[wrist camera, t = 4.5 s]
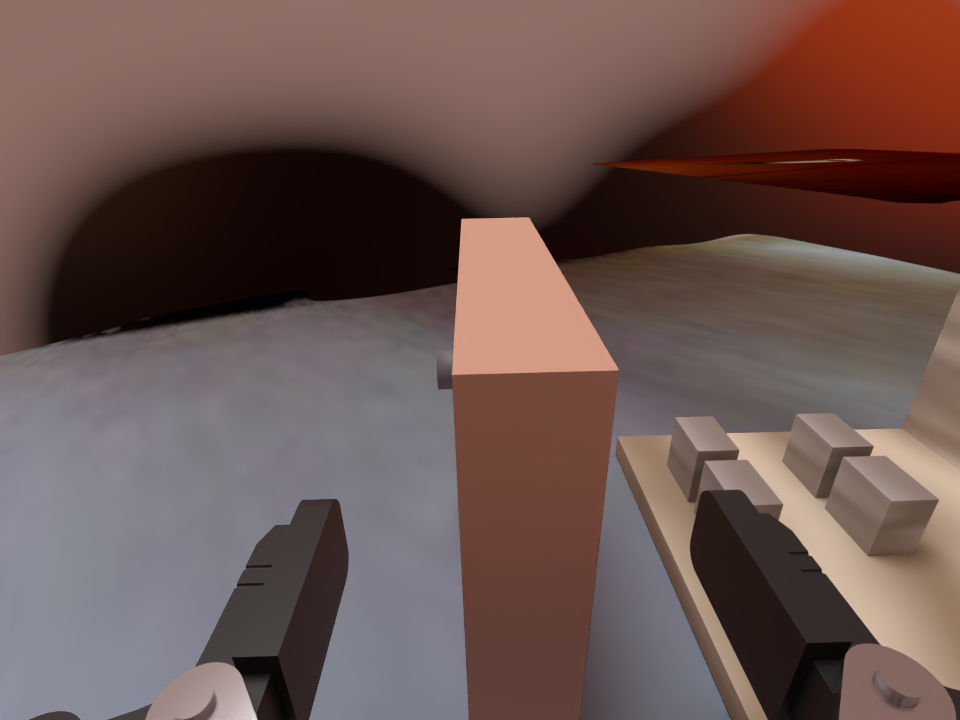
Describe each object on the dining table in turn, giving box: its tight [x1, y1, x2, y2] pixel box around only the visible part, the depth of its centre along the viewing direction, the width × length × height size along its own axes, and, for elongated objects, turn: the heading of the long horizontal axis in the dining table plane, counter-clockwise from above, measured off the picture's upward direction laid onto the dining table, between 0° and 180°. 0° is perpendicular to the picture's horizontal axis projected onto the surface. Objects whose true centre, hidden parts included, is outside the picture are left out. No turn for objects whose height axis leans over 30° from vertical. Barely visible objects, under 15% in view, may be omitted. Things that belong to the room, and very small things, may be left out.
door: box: [437, 218, 619, 720], centre depth 15 cm, size 3×12×12 cm, turn 1°
